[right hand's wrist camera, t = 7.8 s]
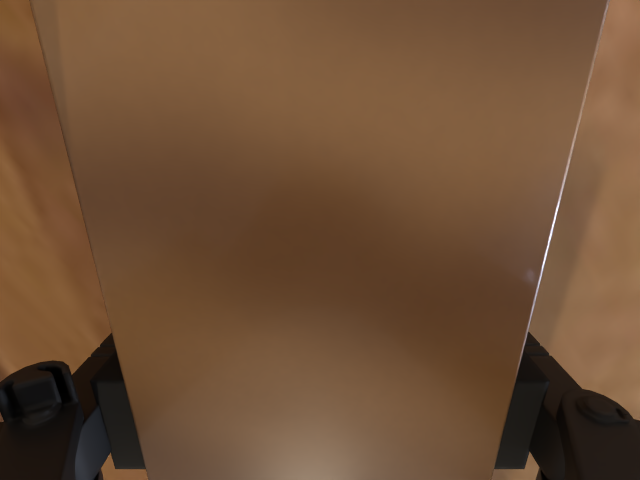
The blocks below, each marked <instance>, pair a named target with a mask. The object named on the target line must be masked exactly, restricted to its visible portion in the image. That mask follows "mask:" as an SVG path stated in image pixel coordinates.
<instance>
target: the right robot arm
mask: <svg viewBox="0 0 640 480" xmlns="http://www.w3.org/2000/svg"><path fill="white" fill-rule="evenodd" d="M0 412H1V415H2V417H3V420H4V422H0V480H103V474H102V471H101V467H102V465H103V464H104V462H105V461H106V459H107V457H108V456H109V454H110V452H111V455H112V459H113V462H114V466H115V469H146V467H145V463H144V459H143V455H142V451H141V447H140V443H139V439H138V435H137V431H136V427H135V423H134V419H133V415H132V411H131V407H130V403H129V399H128V395H127V391H126V387H125V383H124V379H123V375H122V371H121V367H120V363H119V359H118V355H117V351H116V347H115V343H114V339H113V335H112V333H111V334H110V335H109V336H108V337H107V338H106V339H105V340H104V341H103V342H102V344H101V345H100V347H98V348H97V349H96V350H95V351H94V352H93V353H92V354H91V357H88V359H87V360H86V361H85V362H84V363H83V364H82V365H81V366H80V367H79V368H78V369H77V370H76V371H75V373H74V374H73V375H71V372H70V369H69V366H68V365H67V364H65V363H64V362H61V361H46V362H40V363H36V364H33V365H30V366H27V367H25V368H22V369H20V370H18V371H16V372H14V373H12V374H11V375H9V376H8V377H7V378H5V379H4V380H2V381H1V382H0ZM529 451H530V453H531V454H532V456H533V457H534V459H535V461H536V462H537V464H538V466H539V467H540V468H539V471H538V474H537V477H536V480H640V421H639V420H635V419H633V418H632V416H631V415H630V414H629V412H628V411H626V410H625V409H624V408H623V407H622V406H620V405H619V404H618V403H616V402H615V401H613V400H611V399H609V398H608V397H606V396H604V395H601V394H598V393H596V392H593V391H590V390H584V389H582V388H581V387H580V386H579V385H578V384H577V383H576V382H575V381H574V380H573V379H572V377H571V376H570V375H569V374H568V373H567V372H566V371H565V370H564V369H563V368H562V367H561V366H560V365H559V364H558V363H557V361H556V360H555V359H554V358H553V357H552V356H549V353H548V352H547V351H546V350H545V349H544V348H543V347H542V346H540V343H539V342H538V341H537V340H536V339H535V338H534V337H533V336H532V335H531V334H530V333H529V332H528V333H527V337H526V341H525V345H524V349H523V353H522V357H521V361H520V365H519V369H518V373H517V377H516V382H515V386H514V390H513V394H512V398H511V402H510V406H509V410H508V414H507V418H506V422H505V426H504V430H503V434H502V438H501V442H500V446H499V450H498V454H497V458H496V462H495V466H494V469H524V468H525V465H526V461H527V458H528V455H529Z"/></svg>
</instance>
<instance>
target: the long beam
mask: <svg viewBox="0 0 640 480" xmlns="http://www.w3.org/2000/svg"><path fill="white" fill-rule="evenodd" d="M29 1H30V5H31V9H32V13H33V17H34V21H35V25H36V29H37V33H38V37H39V41H40V45H41V49H42V53H43V57H44V61H45V65H46V69H47V73H48V77H49V81H50V85H51V89H52V94H53V98H54V102H55V106H56V110H57V114H58V118H59V122H60V126H61V130H62V134H63V138H64V142H65V146H66V150H67V154H68V158H69V162H70V166H71V170H72V174H73V178H74V182H75V186H76V190H77V194H78V198H79V202H80V206H81V210H82V214H83V218H84V222H85V226H86V230H87V234H88V238H89V242H90V246H91V250H92V254H93V258H94V262H95V266H96V270H97V274H98V278H99V282H100V286H101V290H102V294H103V298H104V303H105V307H106V311H107V315H108V319H109V323H110V327H111V331H112V335H113V339H114V343H115V347H116V351H117V355H118V359H119V363H120V367H121V371H122V375H123V379H124V383H125V387H126V391H127V395H128V399H129V403H130V407H131V411H132V415H133V419H134V423H135V427H136V431H137V435H138V439H139V443H140V447H141V451H142V455H143V459H144V463H145V467H146V471H147V475H148V479H149V480H491V478H492V474H493V470H494V466H495V462H496V458H497V454H498V450H499V446H500V442H501V438H502V434H503V430H504V426H505V422H506V418H507V414H508V410H509V406H510V402H511V398H512V394H513V390H514V386H515V382H516V377H517V373H518V369H519V365H520V361H521V357H522V353H523V349H524V345H525V341H526V337H527V333H528V329H529V325H530V321H531V317H532V313H533V309H534V305H535V301H536V297H537V293H538V289H539V285H540V281H541V277H542V273H543V269H544V265H545V261H546V256H547V252H548V248H549V244H550V240H551V236H552V232H553V228H554V224H555V220H556V216H557V212H558V208H559V204H560V200H561V196H562V192H563V188H564V184H565V180H566V176H567V172H568V168H569V164H570V160H571V156H572V152H573V148H574V144H575V139H576V135H577V131H578V127H579V123H580V119H581V115H582V111H583V107H584V103H585V99H586V95H587V91H588V87H589V83H590V79H591V75H592V71H593V67H594V63H595V59H596V55H597V51H598V47H599V43H600V39H601V35H602V31H603V27H604V22H605V18H606V14H607V10H608V6H609V2H610V0H29Z"/></svg>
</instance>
